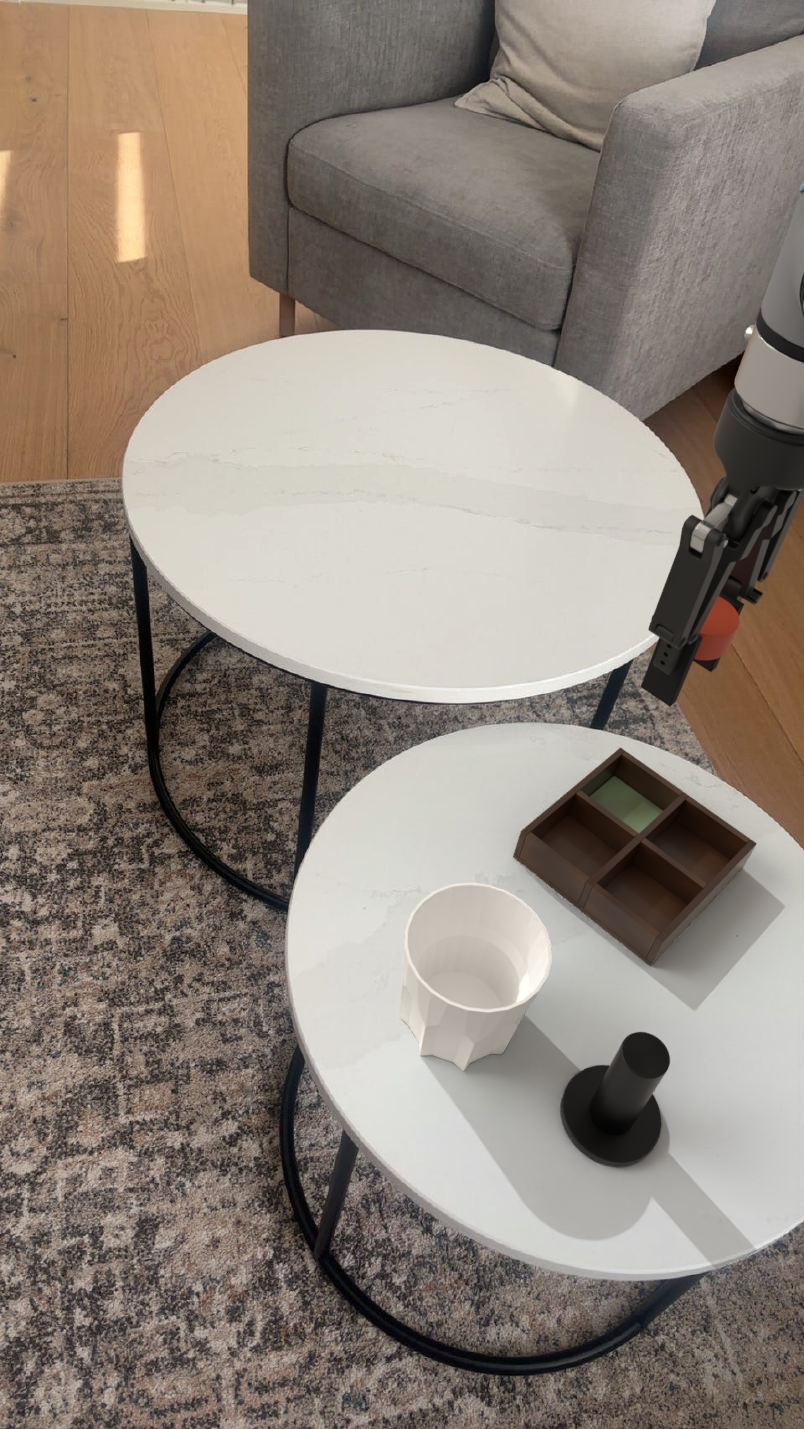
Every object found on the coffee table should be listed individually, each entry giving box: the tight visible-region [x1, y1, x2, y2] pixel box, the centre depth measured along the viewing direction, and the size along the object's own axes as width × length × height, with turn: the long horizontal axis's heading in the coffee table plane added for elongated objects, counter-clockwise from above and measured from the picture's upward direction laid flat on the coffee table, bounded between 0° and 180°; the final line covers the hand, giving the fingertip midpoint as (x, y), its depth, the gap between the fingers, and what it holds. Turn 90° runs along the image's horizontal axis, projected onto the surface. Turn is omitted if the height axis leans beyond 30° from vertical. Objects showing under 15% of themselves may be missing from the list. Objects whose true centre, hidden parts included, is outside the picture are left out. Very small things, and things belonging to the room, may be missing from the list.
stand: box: [559, 1031, 671, 1168], centre depth 73 cm, size 7×7×9 cm
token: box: [694, 596, 741, 660], centre depth 79 cm, size 5×5×2 cm
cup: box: [398, 881, 553, 1072], centre depth 77 cm, size 10×10×10 cm
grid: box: [512, 747, 758, 967], centre depth 91 cm, size 14×14×4 cm
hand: (679, 676), depth 83 cm, fingers closed on token, 5 cm apart
